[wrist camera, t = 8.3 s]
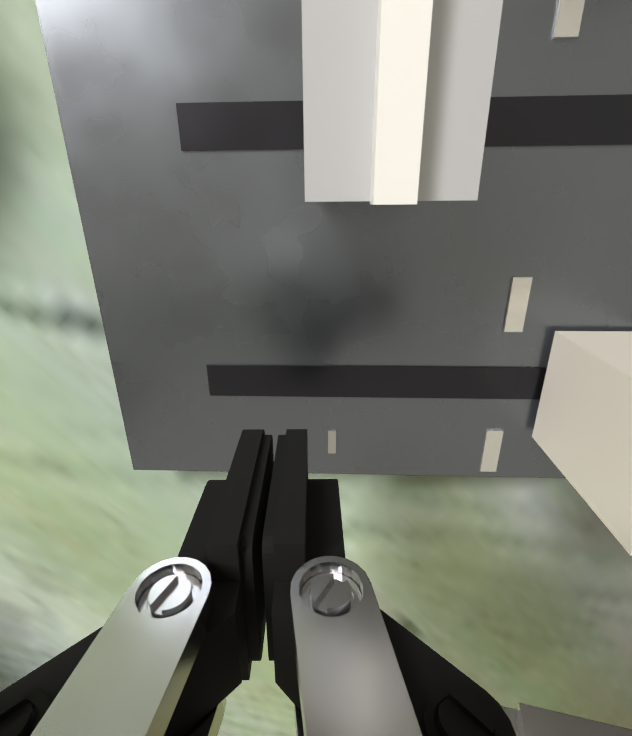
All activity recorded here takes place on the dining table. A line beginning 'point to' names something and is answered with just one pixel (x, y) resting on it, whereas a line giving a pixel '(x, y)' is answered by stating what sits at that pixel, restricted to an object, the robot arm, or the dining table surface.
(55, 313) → the dining table surface
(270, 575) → the robot arm
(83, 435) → the dining table surface
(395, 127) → the grey fader
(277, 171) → the console
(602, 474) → the ivory fader
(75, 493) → the dining table surface
